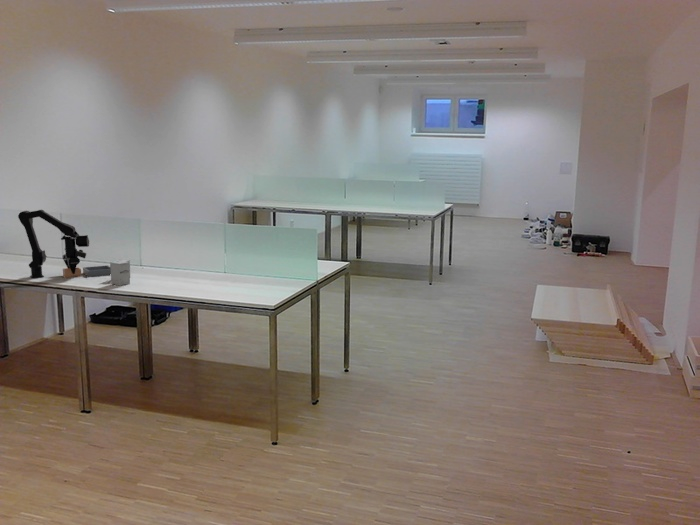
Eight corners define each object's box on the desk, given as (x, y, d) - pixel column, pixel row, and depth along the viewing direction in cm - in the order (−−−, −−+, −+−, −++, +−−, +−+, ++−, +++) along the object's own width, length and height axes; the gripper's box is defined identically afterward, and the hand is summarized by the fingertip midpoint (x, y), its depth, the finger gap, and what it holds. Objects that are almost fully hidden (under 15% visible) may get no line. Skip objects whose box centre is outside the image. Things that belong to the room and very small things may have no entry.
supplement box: (119, 286, 349) (118, 263, 347) (111, 284, 353) (109, 262, 351) (130, 283, 355) (129, 261, 353) (121, 282, 359) (120, 260, 357)
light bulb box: (121, 281, 363) (120, 262, 361) (110, 280, 364) (109, 262, 362) (131, 277, 373) (130, 259, 371) (120, 277, 374) (119, 259, 373)
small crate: (63, 276, 376) (62, 268, 375) (79, 274, 381) (78, 267, 380) (65, 277, 371) (64, 270, 370) (81, 276, 376) (80, 268, 375)
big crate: (83, 273, 386) (82, 267, 385) (107, 270, 394) (107, 265, 394) (88, 276, 374) (88, 271, 373) (113, 274, 382) (113, 268, 382)
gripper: (88, 247, 370) (89, 273, 372) (81, 244, 385) (82, 269, 387) (68, 249, 363) (69, 275, 366) (61, 245, 379) (63, 270, 381)
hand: (72, 272), depth 375 cm, fingers open, 9 cm apart
